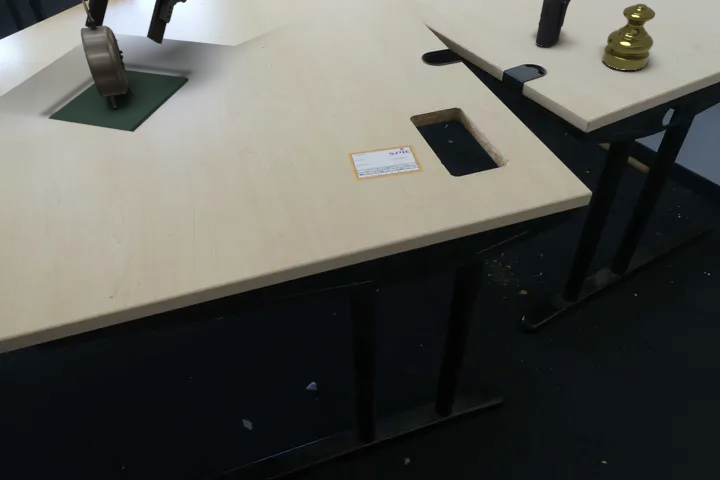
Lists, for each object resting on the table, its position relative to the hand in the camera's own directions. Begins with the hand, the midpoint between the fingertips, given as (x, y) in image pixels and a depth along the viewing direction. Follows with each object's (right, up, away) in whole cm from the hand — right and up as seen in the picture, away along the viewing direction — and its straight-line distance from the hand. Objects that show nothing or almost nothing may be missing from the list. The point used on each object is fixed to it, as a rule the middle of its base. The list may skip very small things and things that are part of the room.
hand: (122, 35), depth 90 cm
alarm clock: (-2, -10, +3) cm, 10 cm away
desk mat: (-2, -10, +4) cm, 11 cm away
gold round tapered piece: (+87, -3, +6) cm, 88 cm away
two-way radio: (+76, +3, +12) cm, 77 cm away
